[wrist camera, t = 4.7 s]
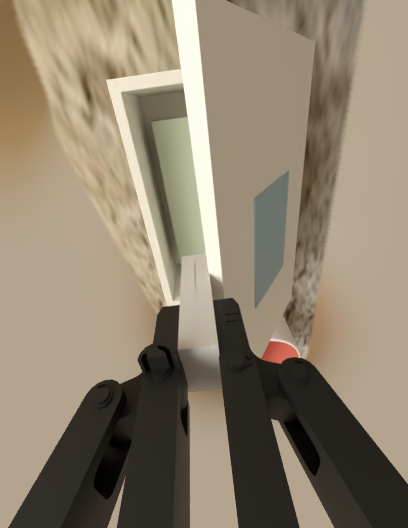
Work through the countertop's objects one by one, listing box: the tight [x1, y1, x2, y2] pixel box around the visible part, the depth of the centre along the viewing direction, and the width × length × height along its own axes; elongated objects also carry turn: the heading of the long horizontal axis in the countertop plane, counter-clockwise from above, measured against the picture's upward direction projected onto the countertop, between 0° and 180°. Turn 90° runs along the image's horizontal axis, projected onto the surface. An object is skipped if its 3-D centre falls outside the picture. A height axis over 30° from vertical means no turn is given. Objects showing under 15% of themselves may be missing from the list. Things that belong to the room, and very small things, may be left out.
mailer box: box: [106, 69, 206, 306], centre depth 27 cm, size 14×22×9 cm, turn 7°
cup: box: [261, 316, 300, 364], centre depth 39 cm, size 10×10×10 cm
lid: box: [172, 0, 315, 359], centre depth 18 cm, size 14×23×1 cm
